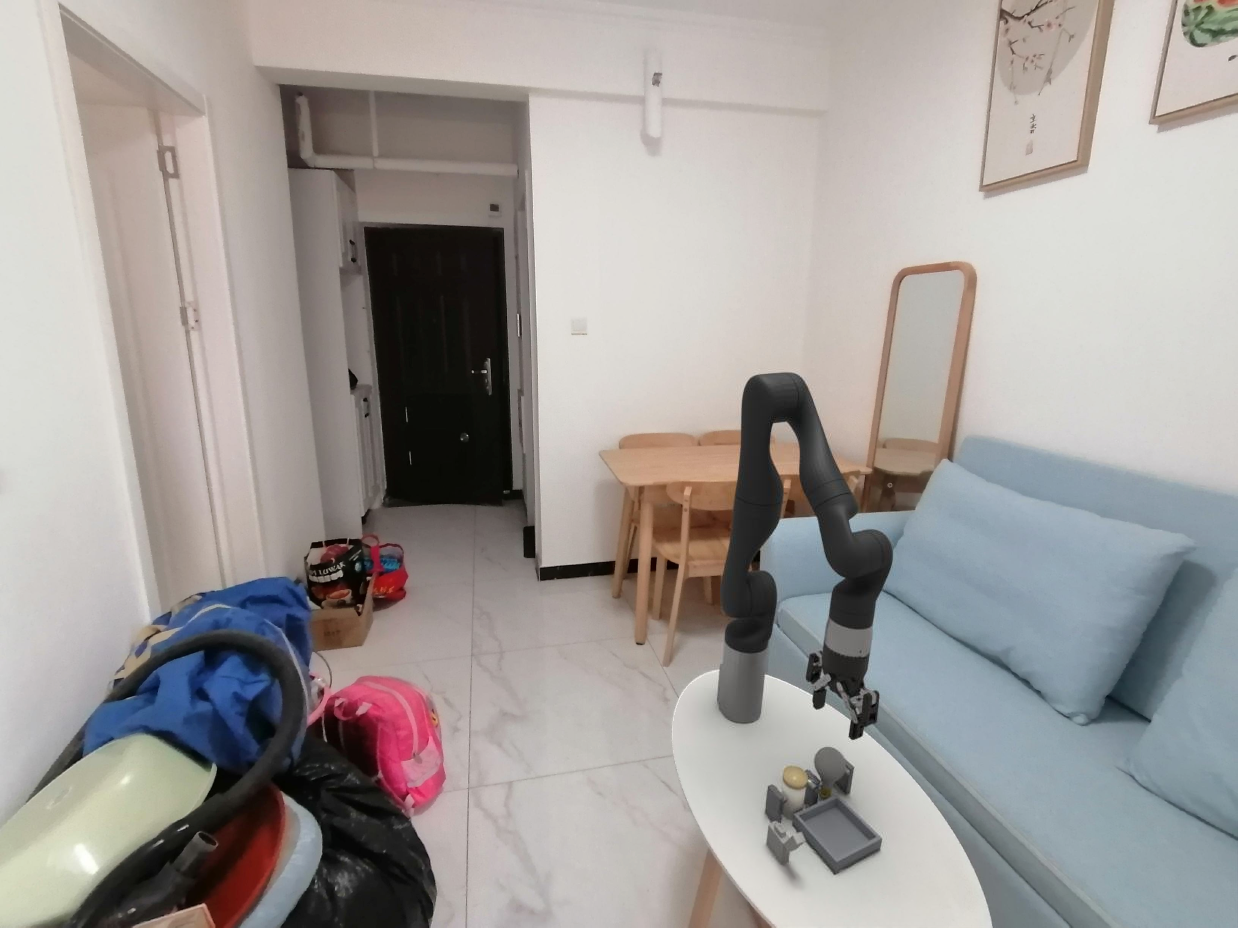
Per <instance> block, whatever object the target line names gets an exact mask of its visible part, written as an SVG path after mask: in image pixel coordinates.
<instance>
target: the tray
mask: <svg viewBox="0 0 1238 928" xmlns="http://www.w3.org/2000/svg"><path fill="white" fill-rule="evenodd" d="M791 826H792V827H793V828H794V830H795V831H797V833H799V832H802V834H803V836H804V838H805V840H806V841H805V842H806V843H807V844H808V846H810V848H811V849H812V850H813V851H814V853H816V855H817V856H818V858H820V859H821V860H822V862H824V864H826V866H827V867H828V868H829V869H830V870H831V872H832V873H833V874H834V875H836V874H837V873H839V872H841V871H843V870H845V869H847V868H849V867H852V865H854V864H857V863H858V862H860V861H862V860H864V859H866V858H868V857H870V856H871V855H873V854H875V853H878V852H879V851H881V847H882V842H883V837H882V836H881V835H880V834H879V833H877V831H876V830H874V829H873V827H871V825H870V824H869V823H867V822H866V820H864V819H863V818H862V817H861V816H860V814H858V812H856V811H855V810H854V809H853V808H852V807H851V806H850V805H849V804H848V803H847V802H846V801H845V800H844V799H843V798H842V797H841V796H840V795H839V794H835V795H833V796H832V795H831V796H830V797H827V798H825V799H823V800H822V801H820V802H818V803H817V804H815V805H813V806H810V807H809V806H807V807H805V808H803V810H802V811H799V812H797V813H795V814H794V815H793V820H792V825H791Z"/></svg>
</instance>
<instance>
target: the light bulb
mask: <svg viewBox="0 0 1238 928" xmlns="http://www.w3.org/2000/svg"><path fill="white" fill-rule="evenodd" d="M844 758H845V756H844V754H842V753H841V752H840V751H839V750H838V749H837V748H835V747H831V746H824V747H821V748H819V749H818V751H816V753H815V755H814V760H813V763H814V764H813V765H814V768H815V771H816V773H817V775H818V776H819V779H820V781H821V782H822V783H823V785H822V787H820V789H819V794H820V796H822V797H824V798H830V797H832V792H833V789H834V786H835V784H834V783H835V782H836V781H837V780H839V779H840V778H841V777H842V776H843V775H844V773H845V770H846V763H845V759H846V758H845V759H844Z"/></svg>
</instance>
